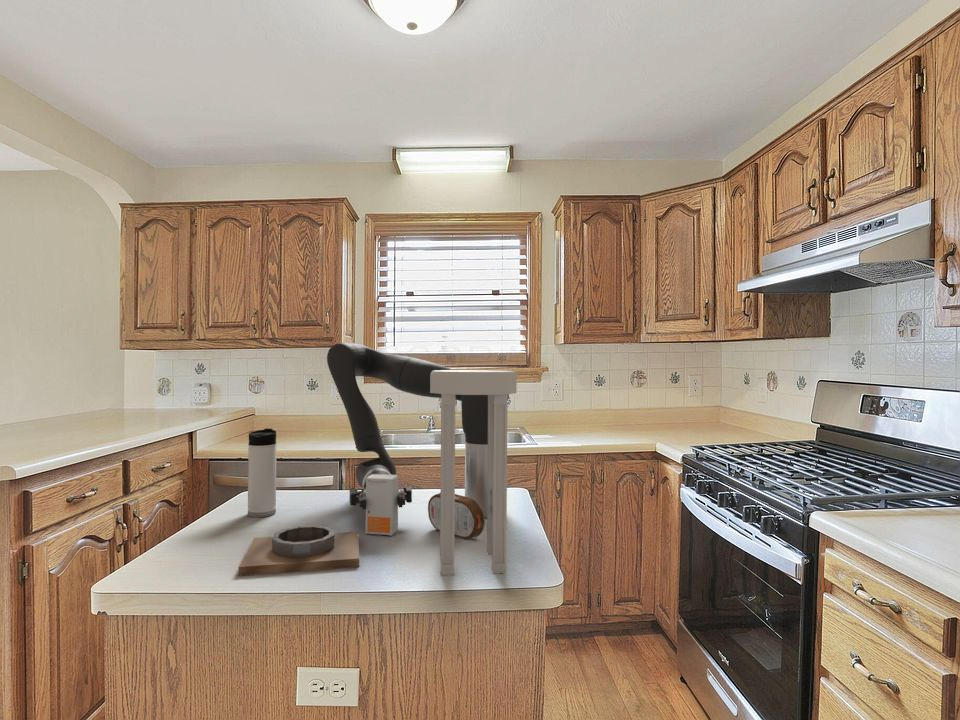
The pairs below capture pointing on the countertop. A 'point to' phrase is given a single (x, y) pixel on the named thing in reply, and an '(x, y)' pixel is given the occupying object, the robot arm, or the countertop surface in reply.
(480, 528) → the tin
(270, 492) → the travel mug
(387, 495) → the skincare box
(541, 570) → the countertop surface
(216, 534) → the countertop surface
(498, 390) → the stool
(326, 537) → the ring collar
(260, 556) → the walnut base
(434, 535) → the countertop surface
